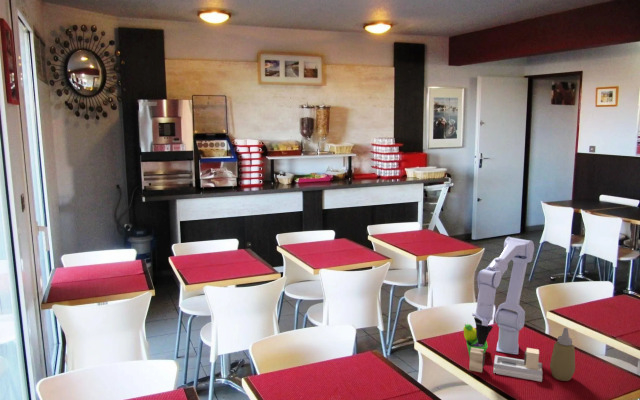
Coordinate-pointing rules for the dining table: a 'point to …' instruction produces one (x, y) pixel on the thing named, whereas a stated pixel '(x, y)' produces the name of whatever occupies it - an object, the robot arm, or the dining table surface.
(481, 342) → the robot arm
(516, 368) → the rail
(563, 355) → the squeeze bottle
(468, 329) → the fruit basket
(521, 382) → the dining table surface
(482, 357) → the maple finger
